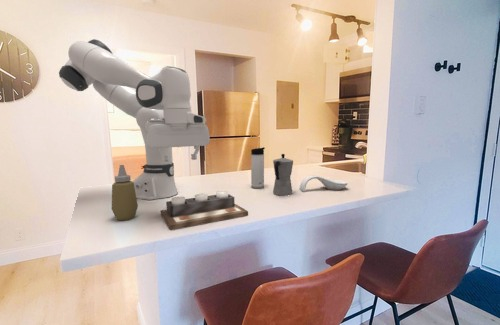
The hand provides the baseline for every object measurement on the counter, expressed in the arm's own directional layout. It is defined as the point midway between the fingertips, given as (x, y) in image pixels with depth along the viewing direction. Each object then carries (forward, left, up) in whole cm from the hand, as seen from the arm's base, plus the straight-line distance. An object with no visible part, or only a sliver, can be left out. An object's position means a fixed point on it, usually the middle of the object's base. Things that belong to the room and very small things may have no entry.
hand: (180, 160), depth 89 cm
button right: (+11, +9, -16) cm, 21 cm away
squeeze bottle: (-18, -6, -19) cm, 27 cm away
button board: (+7, +2, -19) cm, 20 cm away
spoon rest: (+49, +49, -20) cm, 72 cm away
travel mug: (+17, +46, -19) cm, 53 cm away
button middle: (+5, +4, -16) cm, 17 cm away
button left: (-1, -1, -16) cm, 16 cm away
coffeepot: (+30, +36, -19) cm, 51 cm away
